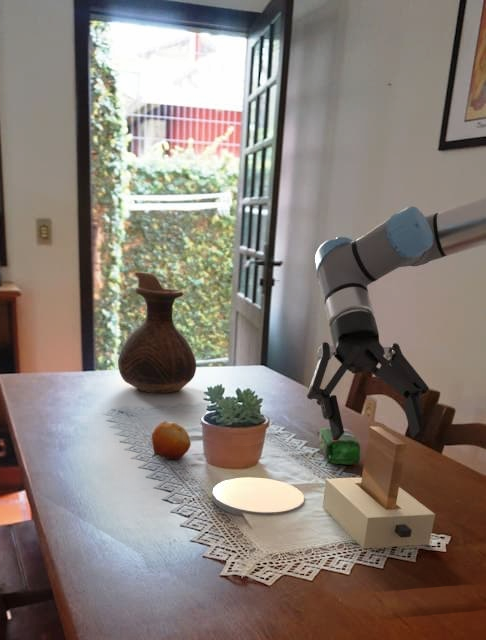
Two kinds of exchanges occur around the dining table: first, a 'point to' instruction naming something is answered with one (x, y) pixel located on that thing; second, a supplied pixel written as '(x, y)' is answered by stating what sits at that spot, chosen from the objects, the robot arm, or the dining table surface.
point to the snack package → (339, 447)
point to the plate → (256, 496)
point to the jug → (157, 344)
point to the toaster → (377, 516)
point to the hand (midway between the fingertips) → (379, 435)
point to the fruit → (170, 441)
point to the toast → (383, 467)
